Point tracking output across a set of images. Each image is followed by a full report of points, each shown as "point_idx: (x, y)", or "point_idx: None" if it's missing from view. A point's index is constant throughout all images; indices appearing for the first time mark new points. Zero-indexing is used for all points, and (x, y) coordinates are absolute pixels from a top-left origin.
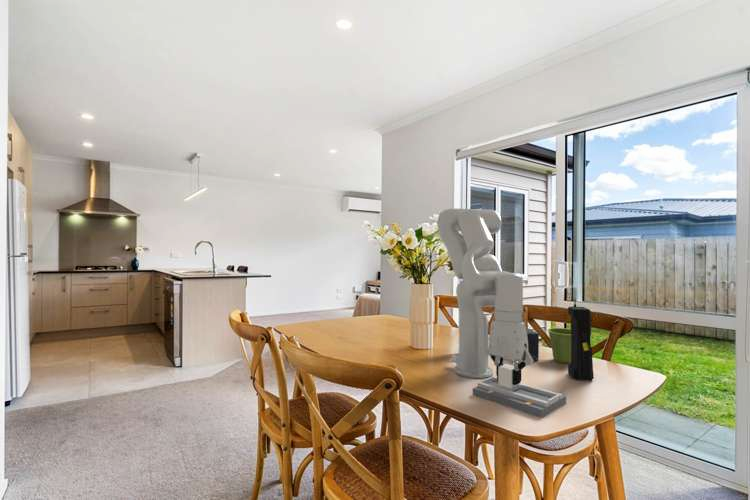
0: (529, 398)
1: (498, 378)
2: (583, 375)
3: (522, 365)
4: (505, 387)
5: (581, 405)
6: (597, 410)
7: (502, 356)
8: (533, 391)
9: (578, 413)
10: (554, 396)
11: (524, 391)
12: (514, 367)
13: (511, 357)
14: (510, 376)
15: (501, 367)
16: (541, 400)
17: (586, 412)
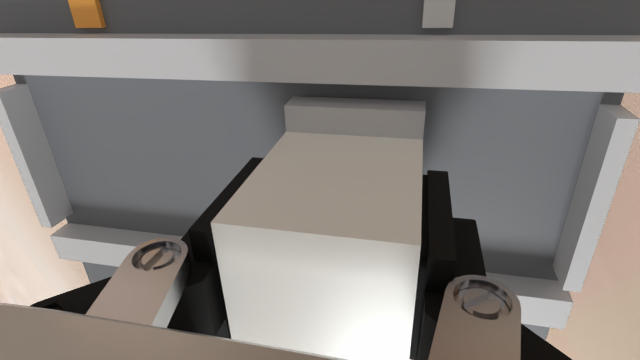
0: (85, 38)
1: (420, 163)
2: None
3: (56, 304)
4: (328, 107)
5: (76, 276)
6: (15, 263)
7: (255, 356)
8: None
9: (13, 179)
10: (35, 187)
11: None
12: (174, 265)
13: (14, 332)
14: (259, 179)
15: (367, 240)
16: (18, 62)
17: (11, 214)
